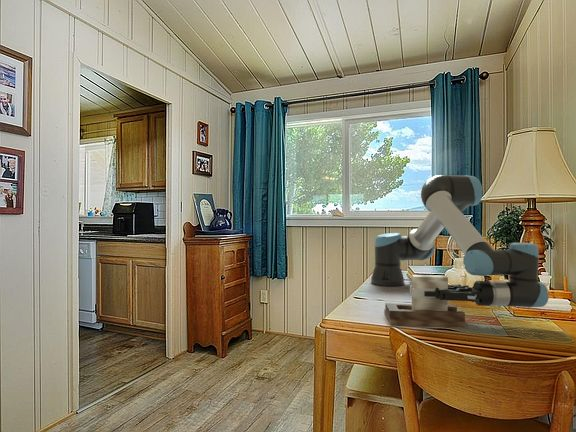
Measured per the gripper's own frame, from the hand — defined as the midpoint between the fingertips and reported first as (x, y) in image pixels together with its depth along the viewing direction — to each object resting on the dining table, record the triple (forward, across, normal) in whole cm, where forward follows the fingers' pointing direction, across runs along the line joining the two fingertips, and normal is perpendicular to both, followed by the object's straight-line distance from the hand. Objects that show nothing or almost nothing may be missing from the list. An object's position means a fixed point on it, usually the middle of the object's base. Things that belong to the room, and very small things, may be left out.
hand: (411, 291), depth 118 cm
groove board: (-4, 0, -9) cm, 10 cm away
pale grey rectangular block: (-5, 0, -7) cm, 9 cm away
